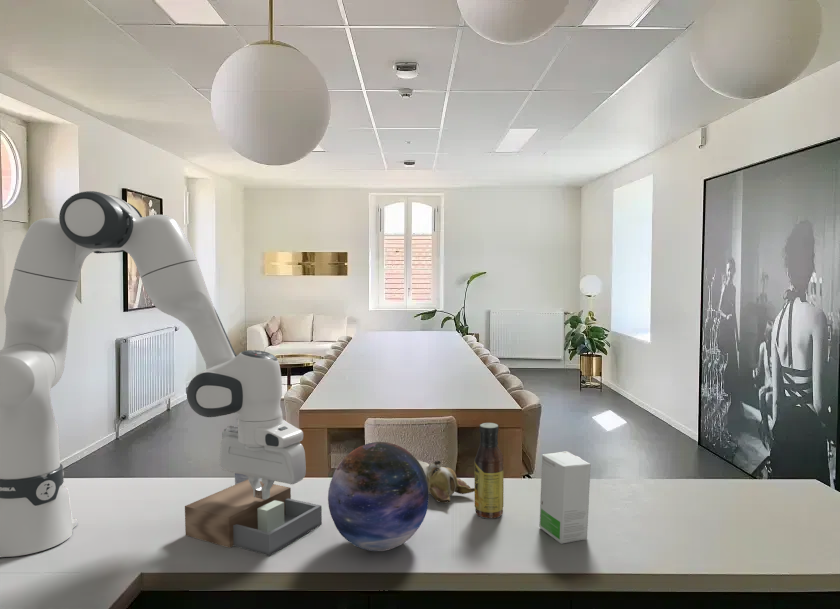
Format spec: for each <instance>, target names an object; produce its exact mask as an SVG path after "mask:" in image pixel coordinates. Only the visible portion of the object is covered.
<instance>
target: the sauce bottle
mask: <svg viewBox="0 0 840 609" xmlns="http://www.w3.org/2000/svg"><path fill="white" fill-rule="evenodd" d="M478 430H479V433H480V435H479V436H480V439H479V446H478V449H477V452H476V456H475V458H474V461H473V462H474V463H473V464H474V476H473V477H474V488H475V491H474V510H475V514H476V515H477V516H478V517H480V518H483V519H498V518H500V517H501V516H502V515H503V513H504V497H505V496H504V486H505V485H504V455H503V453H502V451H501V449H500V448H499V446H498V445H499V441H498V440H499V439H498V438H499V437H498V436H499V435H498V434H499V424H497V423H494V422H483V423H481V424H479V429H478Z"/></svg>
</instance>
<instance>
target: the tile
mask: <svg viewBox="0 0 840 609" xmlns="http://www.w3.org/2000/svg"><path fill="white" fill-rule="evenodd" d="M257 510H258V530H261V531H265V532H270V531H272V530H274V529H276V528H278V527H279V526H281V525H283V524H284V502H280V501H276V500H274V501H272V502H270V503H268V504H266V505H264V506H261V507H259V508H257Z"/></svg>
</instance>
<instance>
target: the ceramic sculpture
mask: <svg viewBox="0 0 840 609" xmlns="http://www.w3.org/2000/svg"><path fill="white" fill-rule="evenodd" d="M416 460H417V461H418V462H419V463H420V465H421V466H422V468H423V470H424V472H425V475H426V478H427V482H428V491H429V494H430V495H431V496H432V497H433V499H434V500H435V501H436V502H437V503H441V504H442V503H443V504H444V503H446V504H447V503H450V502H451V496H452V495H454V493H457V494H460V495H465V494H471V493H475V487H471V486H470V485H469V484H467V483H466V481H464V480H462V479H461V478H458V477H457V474H456V472H455V471H454V470H453V469H452V468H450V467H449V466H447V465H443V464H442V462H441V460H436V461H435V460H434V461H433V462H430V463H428V462H425V461H422V460H420V459H416Z"/></svg>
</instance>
